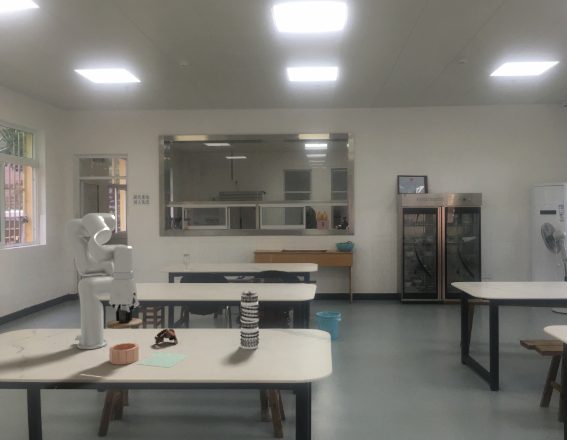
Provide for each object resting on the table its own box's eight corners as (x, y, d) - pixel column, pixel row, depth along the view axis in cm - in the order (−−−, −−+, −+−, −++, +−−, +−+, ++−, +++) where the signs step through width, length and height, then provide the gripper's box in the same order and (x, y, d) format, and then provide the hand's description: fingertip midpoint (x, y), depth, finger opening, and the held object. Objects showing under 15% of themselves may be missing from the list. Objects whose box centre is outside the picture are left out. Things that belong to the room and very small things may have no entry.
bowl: (104, 364, 173) (103, 349, 173) (121, 355, 183) (121, 341, 183) (127, 367, 169) (127, 351, 169) (144, 358, 180) (144, 343, 180)
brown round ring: (176, 348, 194) (166, 334, 192) (159, 357, 196) (149, 342, 194) (183, 334, 206) (174, 321, 204) (167, 342, 207) (158, 329, 206)
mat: (136, 365, 172) (136, 363, 172) (157, 353, 186) (157, 352, 186) (169, 368, 167) (169, 367, 167) (188, 356, 182) (188, 355, 182)
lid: (97, 327, 171) (97, 312, 171) (120, 319, 185) (120, 305, 185) (128, 329, 167) (127, 314, 167) (149, 321, 181) (148, 307, 181)
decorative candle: (247, 350, 189) (247, 294, 189) (235, 346, 196) (235, 291, 196) (264, 346, 195) (263, 291, 195) (251, 342, 202) (251, 288, 202)
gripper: (100, 276, 175) (100, 321, 175) (135, 278, 170) (136, 324, 170) (112, 274, 182) (113, 317, 182) (146, 275, 177) (147, 320, 177)
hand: (124, 320), depth 176 cm, fingers closed on lid, 4 cm apart
